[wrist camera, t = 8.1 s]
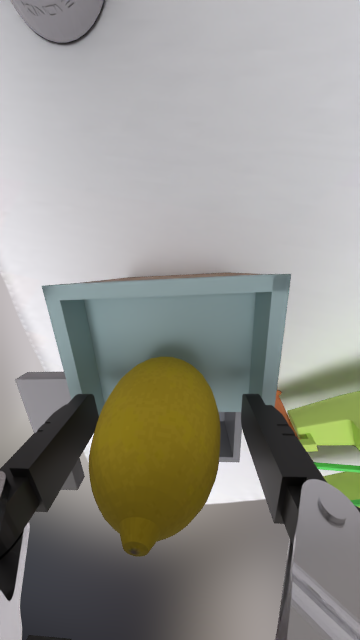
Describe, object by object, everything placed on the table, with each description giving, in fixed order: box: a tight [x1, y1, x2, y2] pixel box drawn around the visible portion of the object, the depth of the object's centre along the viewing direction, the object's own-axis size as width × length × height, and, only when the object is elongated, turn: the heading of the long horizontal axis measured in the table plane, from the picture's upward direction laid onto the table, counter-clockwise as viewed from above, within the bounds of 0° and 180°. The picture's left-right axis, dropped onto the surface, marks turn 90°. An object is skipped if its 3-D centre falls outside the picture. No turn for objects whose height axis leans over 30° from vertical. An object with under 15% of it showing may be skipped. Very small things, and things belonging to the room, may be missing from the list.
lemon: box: [89, 356, 220, 556], centre depth 8 cm, size 6×6×8 cm
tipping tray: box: [15, 274, 291, 490], centre depth 12 cm, size 19×19×3 cm
